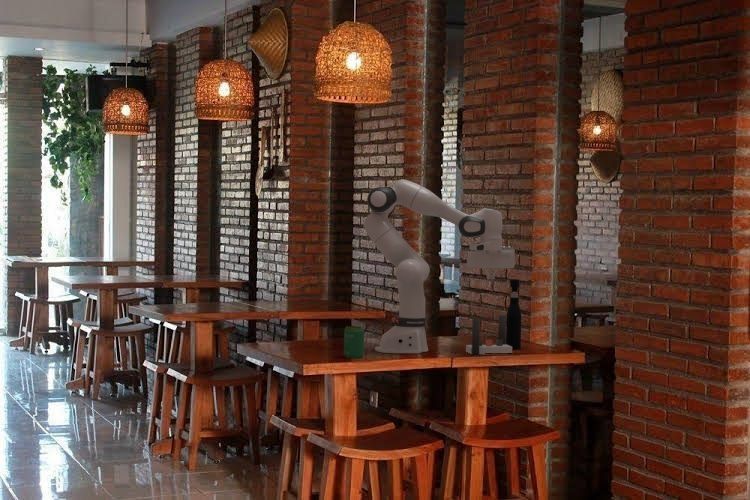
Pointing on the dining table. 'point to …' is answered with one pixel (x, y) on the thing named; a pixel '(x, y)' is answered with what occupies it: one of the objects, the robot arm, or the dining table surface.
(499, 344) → the breaker paddles
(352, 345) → the beverage can
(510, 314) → the wine bottle
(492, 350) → the breaker box
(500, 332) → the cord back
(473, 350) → the dark grey tall bar
